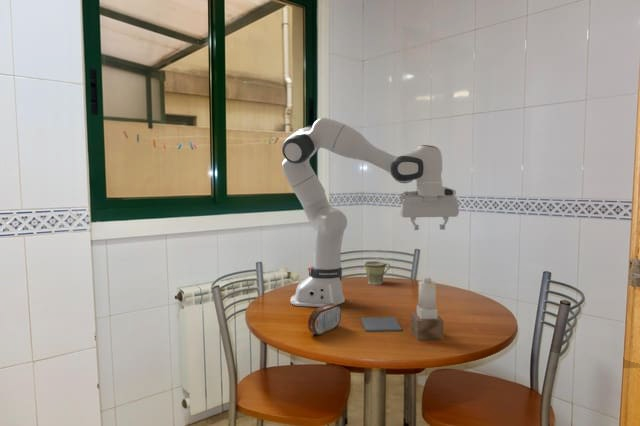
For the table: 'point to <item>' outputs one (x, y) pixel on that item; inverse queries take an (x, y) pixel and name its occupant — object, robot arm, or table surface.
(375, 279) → the ceramic cup
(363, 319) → the mat
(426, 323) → the post plinth
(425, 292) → the white tapered tower
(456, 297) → the table surface
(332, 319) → the tin
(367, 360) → the table surface
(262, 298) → the table surface
